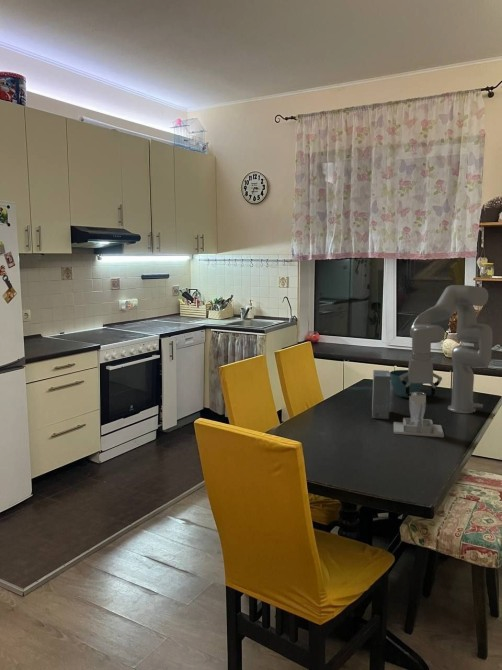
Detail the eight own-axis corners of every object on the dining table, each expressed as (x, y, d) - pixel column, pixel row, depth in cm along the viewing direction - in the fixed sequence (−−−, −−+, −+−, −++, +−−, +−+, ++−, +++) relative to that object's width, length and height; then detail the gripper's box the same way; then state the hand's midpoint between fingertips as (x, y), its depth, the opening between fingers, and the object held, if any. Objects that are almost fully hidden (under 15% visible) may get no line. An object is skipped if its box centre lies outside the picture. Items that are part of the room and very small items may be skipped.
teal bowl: (428, 400, 288) (429, 377, 286) (393, 400, 288) (394, 376, 286) (418, 391, 306) (419, 369, 304) (385, 391, 306) (386, 369, 304)
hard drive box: (389, 419, 253) (390, 376, 250) (372, 418, 255) (373, 376, 252) (387, 410, 268) (389, 370, 266) (371, 409, 270) (372, 369, 267)
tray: (440, 427, 242) (441, 413, 241) (443, 437, 228) (444, 423, 228) (393, 424, 247) (393, 410, 246) (393, 433, 233) (394, 419, 232)
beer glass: (425, 426, 240) (427, 392, 238) (423, 431, 233) (425, 396, 231) (409, 424, 242) (410, 391, 240) (406, 429, 236) (408, 394, 234)
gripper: (442, 355, 235) (440, 394, 237) (399, 354, 239) (398, 392, 242) (443, 358, 228) (442, 399, 230) (399, 357, 232) (399, 397, 234)
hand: (420, 396), depth 236 cm, fingers open, 9 cm apart
